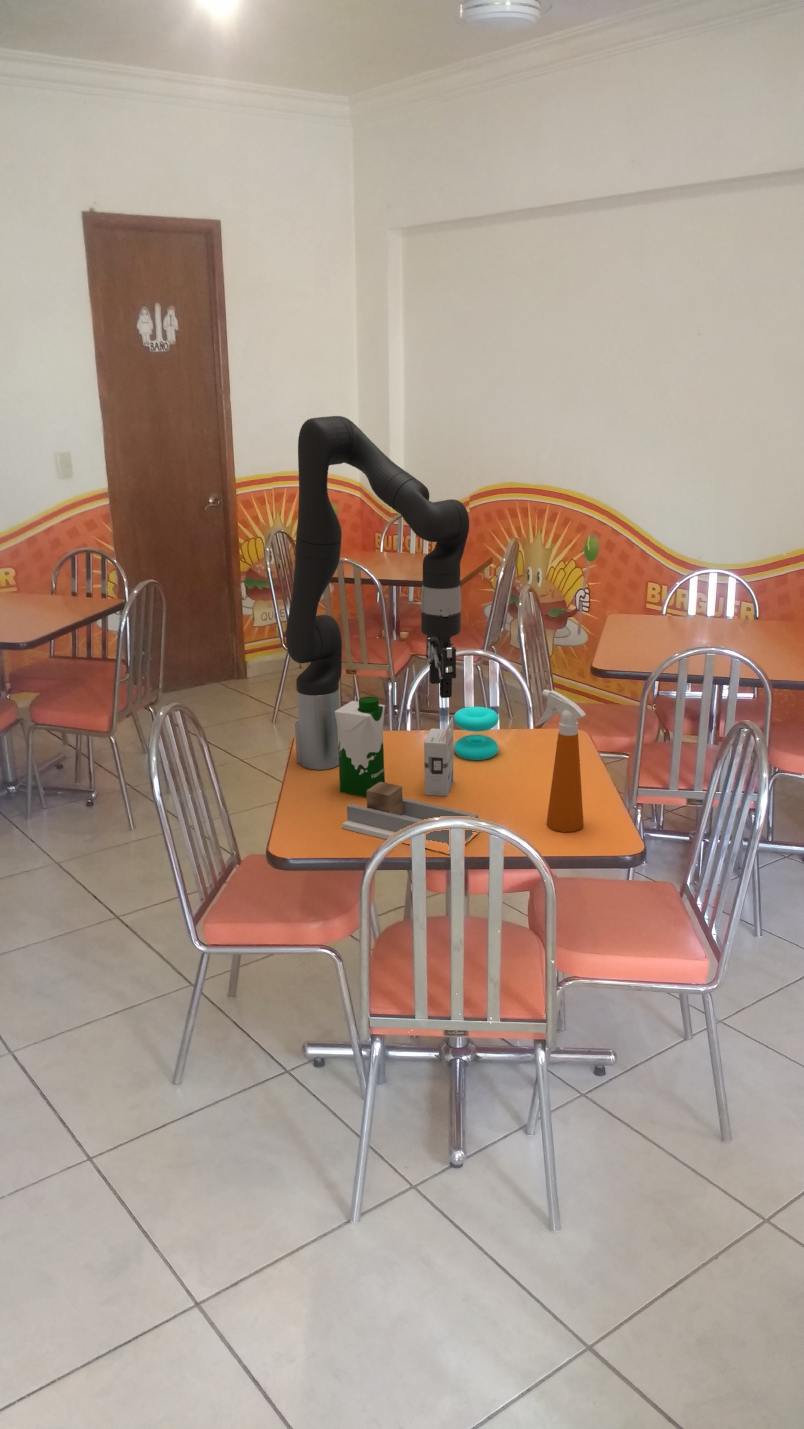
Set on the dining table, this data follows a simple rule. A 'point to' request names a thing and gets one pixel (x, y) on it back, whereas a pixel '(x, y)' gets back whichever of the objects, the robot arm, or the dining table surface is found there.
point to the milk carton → (360, 745)
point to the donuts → (476, 721)
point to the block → (385, 798)
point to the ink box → (439, 761)
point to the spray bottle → (565, 765)
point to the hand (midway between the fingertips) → (440, 690)
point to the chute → (400, 820)
